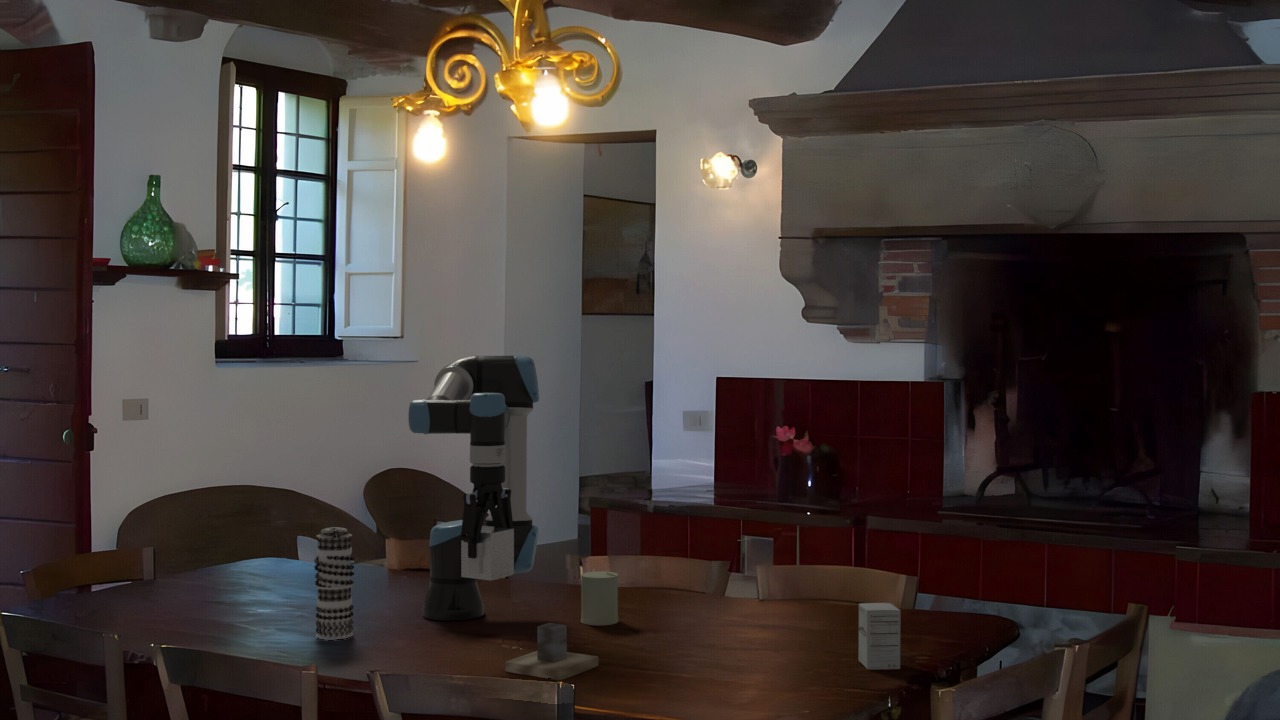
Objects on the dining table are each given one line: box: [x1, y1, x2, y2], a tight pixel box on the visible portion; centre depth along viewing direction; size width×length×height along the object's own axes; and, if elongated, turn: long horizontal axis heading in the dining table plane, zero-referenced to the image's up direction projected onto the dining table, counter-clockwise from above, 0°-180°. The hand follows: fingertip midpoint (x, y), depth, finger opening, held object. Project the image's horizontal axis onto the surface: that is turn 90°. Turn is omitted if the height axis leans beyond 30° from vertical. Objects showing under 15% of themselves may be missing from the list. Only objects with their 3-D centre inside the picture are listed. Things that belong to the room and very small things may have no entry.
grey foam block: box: [461, 525, 515, 582], centre depth 288 cm, size 8×8×10 cm
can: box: [580, 570, 619, 627], centre depth 326 cm, size 9×9×12 cm
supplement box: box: [858, 602, 902, 671], centre depth 283 cm, size 7×7×13 cm
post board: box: [504, 622, 599, 682], centre depth 279 cm, size 14×14×9 cm
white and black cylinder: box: [313, 526, 356, 639], centre depth 309 cm, size 9×9×25 cm
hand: (487, 569), depth 288 cm, fingers closed on grey foam block, 8 cm apart
